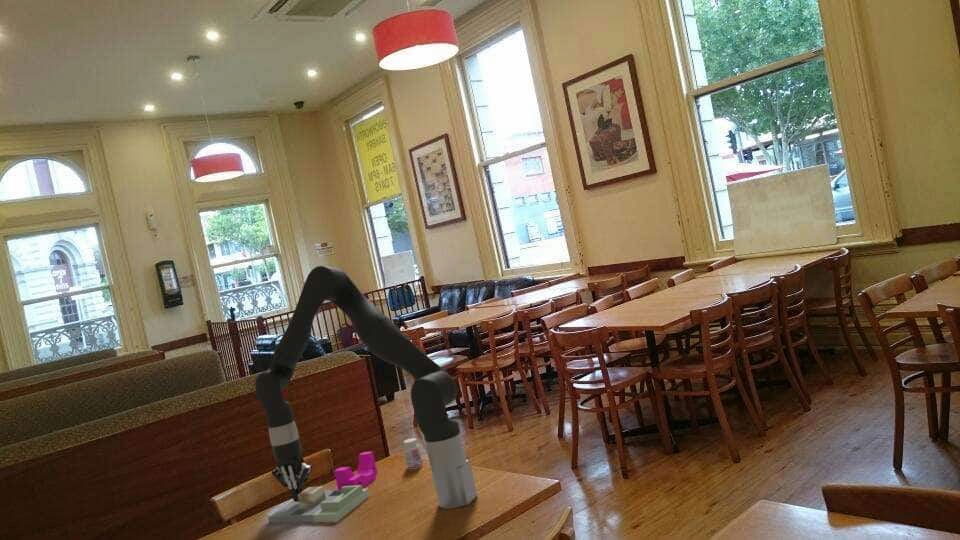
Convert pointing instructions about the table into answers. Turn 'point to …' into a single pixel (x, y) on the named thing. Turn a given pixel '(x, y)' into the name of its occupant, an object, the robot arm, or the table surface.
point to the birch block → (311, 496)
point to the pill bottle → (412, 454)
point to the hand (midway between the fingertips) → (298, 500)
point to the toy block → (357, 472)
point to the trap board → (323, 507)
